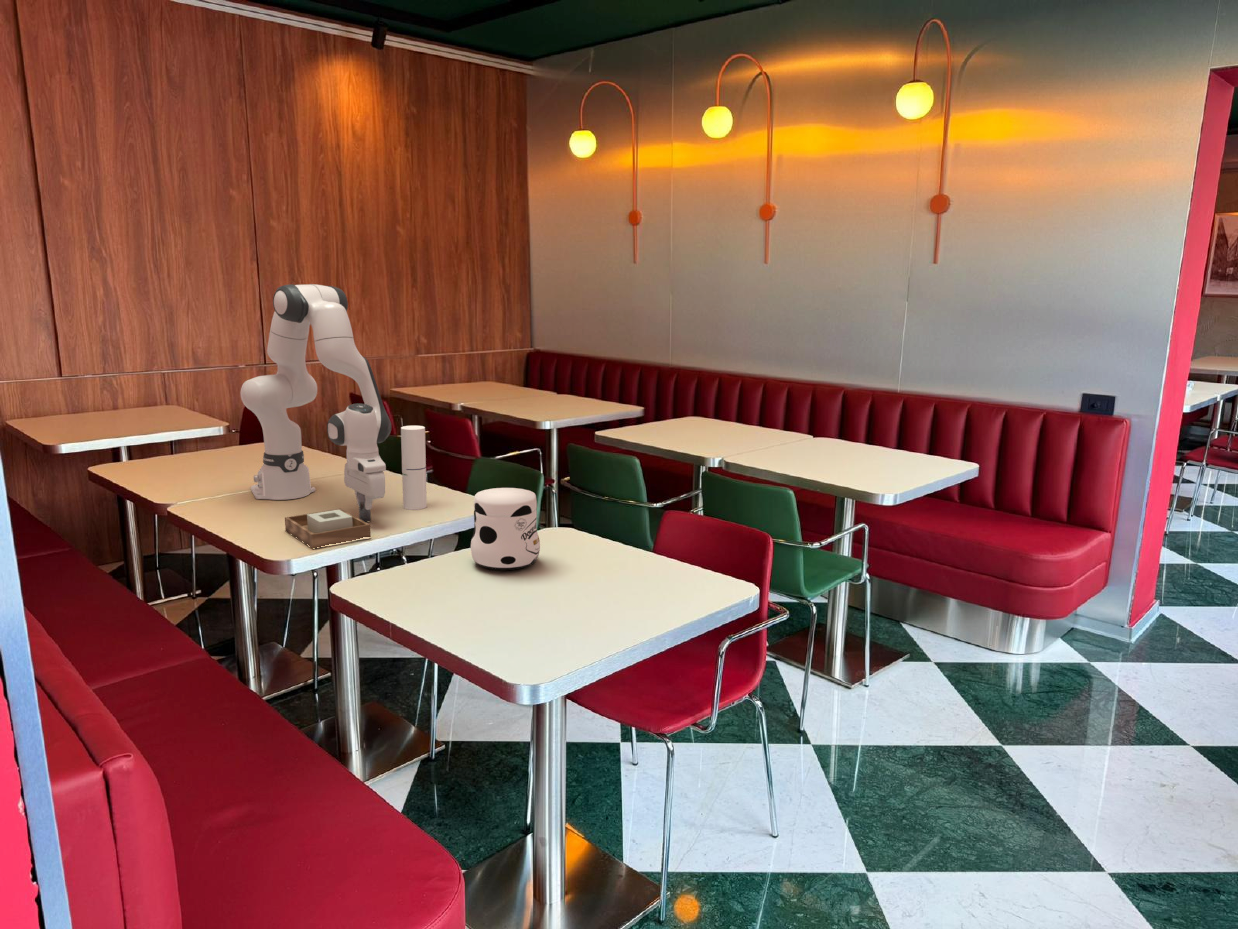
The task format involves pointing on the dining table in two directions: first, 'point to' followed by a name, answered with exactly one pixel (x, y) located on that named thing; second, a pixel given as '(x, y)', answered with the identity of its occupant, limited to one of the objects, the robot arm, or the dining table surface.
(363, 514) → the peg
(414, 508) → the cylindrical container
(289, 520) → the box
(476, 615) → the dining table surface
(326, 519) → the plate
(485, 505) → the milk container
